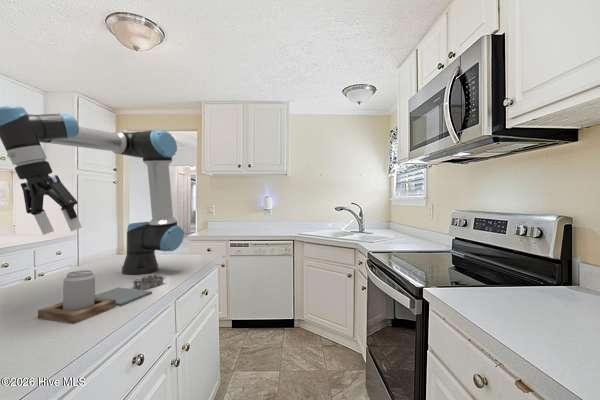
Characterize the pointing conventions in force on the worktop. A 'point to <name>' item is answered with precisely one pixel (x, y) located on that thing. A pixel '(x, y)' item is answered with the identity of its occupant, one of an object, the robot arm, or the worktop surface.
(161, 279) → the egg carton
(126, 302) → the mat
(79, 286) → the can
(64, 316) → the frame
